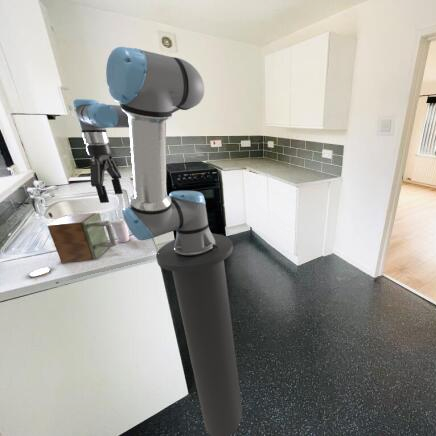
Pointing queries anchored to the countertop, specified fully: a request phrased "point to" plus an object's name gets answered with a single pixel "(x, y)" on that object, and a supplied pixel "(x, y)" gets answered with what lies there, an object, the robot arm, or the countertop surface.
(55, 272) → the countertop surface
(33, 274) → the coaster
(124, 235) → the smoothie
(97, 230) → the door
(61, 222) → the cabinet
